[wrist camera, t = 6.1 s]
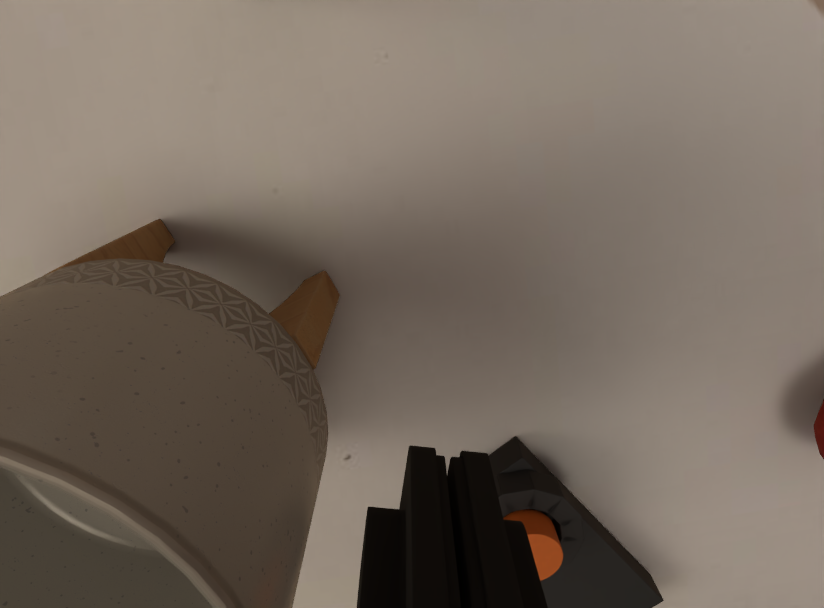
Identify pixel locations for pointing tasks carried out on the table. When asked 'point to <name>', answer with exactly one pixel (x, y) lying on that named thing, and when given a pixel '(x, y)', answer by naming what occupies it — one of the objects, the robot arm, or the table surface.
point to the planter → (157, 435)
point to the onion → (820, 430)
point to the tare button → (540, 540)
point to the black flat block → (571, 538)
